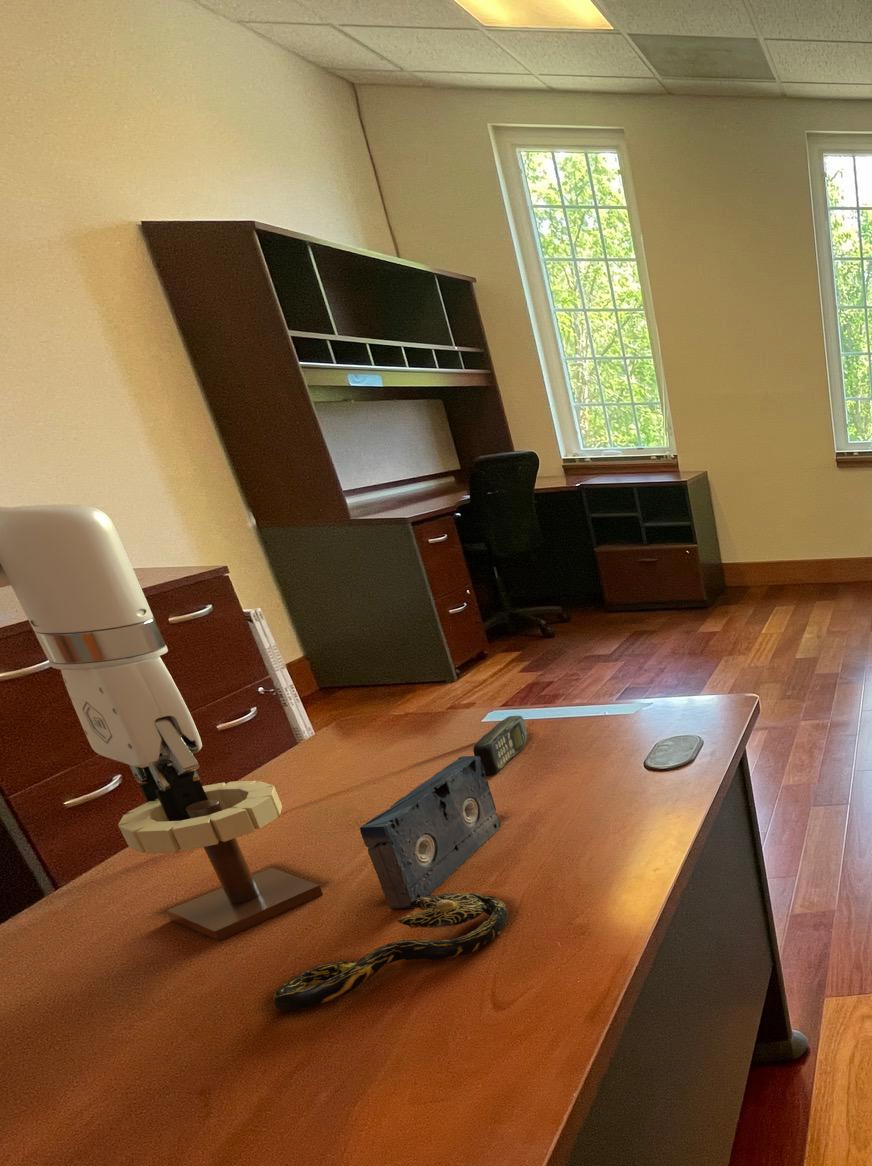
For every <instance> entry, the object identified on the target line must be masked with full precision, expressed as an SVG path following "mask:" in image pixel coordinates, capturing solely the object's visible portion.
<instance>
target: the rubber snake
mask: <svg viewBox="0 0 872 1166" xmlns="http://www.w3.org/2000/svg"><path fill="white" fill-rule="evenodd" d="M410 905H411V907H415V908H414V909H417V910H421V911H418V912H413V913H411V914H408V915H404V916H402V917H399V918H397V923H399V924H402V925H404V926H408V927H409V928H411V929H417V928H428V929H435V928H436V929H437V928H447V927H455V926H458V925H461V924H465V923H467V922H470V921H472V920H474V919H476V918H478V917H480V916H481V915H482V914H483V913H484V914H487V915H488V916H489V917H488V919H486V920H484V921H483V922H482V923H481V924H480V925H478V926H477V927H476V928H475V929H473V930H472V931H470V932H469V933H467V934H465V935H462V936H459V937H455V938H452V939H442V940H425V939H422V940H421V939H408V940H407V939H401V940H397V941H393V942H389V943H386V944H384V945H382V946H379V947H377V948H375V949H374V950H372V951H370V952H368V953H366V955H364V956H363V957H361V958H359V959H358V960H357V961H356V962H354V961H347V960H345V961H336V962H329V963H326V964H321V965H318V966H316V967H313V968H311V969H307V970H305V971H303V972H301V973H299V974H298V975H296V976H294V977H293V978H292V979H290V980H288V981H287V982H286V983H284V984H282V985H281V986H280V987H279V988H278V989H277V990H276V991H275V993H274V994H273V1004H274V1007H275V1008H276V1009H278V1010H283V1011H289V1012H290V1011H298V1010H305V1009H307V1008H310V1007H314V1006H318V1005H321V1004H323V1003H326V1002H329V1001H332V1000H334V999H337V998H339V997H342V996H344V995H348V994H349V993H350V992H352V991H354V990H355V989H357V988H358V987H360V986H362V985H363V984H365V983H366V982H367V981H368V980H370V978H372V977H373V976H374V975H376V974H378V972H379V971H380V970H382V969H383V968H384V967H386V966H389V965H390V964H392V963H394V962H397V961H401V960H402V961H403V960H406V961H411V960H416V961H417V960H422V959H424V960H429V961H440V960H447V959H452V958H456V957H459V956H464V955H467V954H470V953H474V952H476V951H477V950H479V949H481V947H482V946H484V945H486V944H488V943H490V942H493V940H494V939H496V938H497V936H499V935H500V934H501V932H502V930H503V929H504V927H505V925H506V922H507V920H508V916H509V912H508V911H509V910H508V907H507V906H506V904H505V903H504V901H502V900H500V899H497V897H494V896H491V895H486V894H482V893H477V892H473V893H472V892H471V893H470V892H461V893H453V892H452V893H442V894H435V895H428V896H426V897H421V898H417V899H414V900H412V901H411V902H410Z"/></svg>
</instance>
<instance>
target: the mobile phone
mask: <svg viewBox="0 0 872 1166" xmlns="http://www.w3.org/2000/svg"><path fill="white" fill-rule="evenodd" d="M527 741H528V730H527V726H526V722H525V719H524V718H523V716H522V715H509V716H507V717H505V718H504V719H503V720H501V721H500V722H498V723H497V724H495V725H494V727H492V728H491V729H490V730H489V731H488V732H487V733H486V734H484V735H483V736H481V737H480V739H479V740H477V741H476V743H475V744H474V745H473V750H472V751H473V756H480V758H481V760H480V761H481V762H482V764H483V766H484V770H485V774H486V776H487V775H488V776H489V775H490V776H491V775H495V774H498V773H499V771H500V770H502V769H503V767H505V766H506V765H507V763H509V761H511V760H512V759H513V758H514V757H515V756H516V755H517V754H519V753H520V752H521V751H523V749H524V748H525V746H526V744H527ZM512 757H513V758H512Z"/></svg>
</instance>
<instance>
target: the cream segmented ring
mask: <svg viewBox="0 0 872 1166" xmlns="http://www.w3.org/2000/svg"><path fill="white" fill-rule="evenodd" d="M202 787H203V789H204V791H205V794H206V796H207V798H208V800H218V801H219V802H220V805H221V807H222V809H223V810H222V811H219V812H216V813H213V814H210V815H207V816H202V817H197V818H191V819H186V820H181V821H169V820H168V817H167V815H166V813H165V811H164V809H163V807H162V805H161V803H160V801H159V799H155V801H149V802H147V801H146V802H145V803H143V804H141V805H139V806H137V807H135V808H133V809H131V810H129V811H127V812H126V813H125V814H123V816H122V817H121V819H120V820H119V822H118V824H117V826H118V828H119V830H120V832H121V834H122V836H123V838H124V840H125V843H126V844H127V846H128V848H129V849H131V850H134V851H137V852H139V853H141V854H147V855H148V854H169V853H170V854H172V853H178V852H180V851H181V852H187V851H190V850H195V849H201V848H204V847H206V846H211V845H215V844H218V842H219V840H220V841H223V842H226V841H228V840H231V839H234V838H236V839H237V838H239V837H242V836H245V835H248V834H250V833H253V832H255V831H256V830H261V829H262V828H264V827H265V826H267V825H269V824H270V823H271V822H273V821H275V820H276V819H278V818H279V816H281V813H282V809H283V804H282V802H281V799H280V797H279V794H278V793H277V790H276V787H275V786H274V785H273V784H270V783H267V782H263V781H261V780H239V781H235V780H233V781H228V782H227V783H226V782H218V783H213V784H208V785H202Z"/></svg>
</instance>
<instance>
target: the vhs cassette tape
mask: <svg viewBox="0 0 872 1166" xmlns="http://www.w3.org/2000/svg"><path fill="white" fill-rule="evenodd" d="M480 760H481V758H480V756H474V755H465V756H459V757H458V758H457V759H456V760H454V761H453V762H450V764H448V765H447V766H445V767H444V768H442V769H441V770H440V771H438V772H436V773H434V774H433V775H432V776H431V777H429V778H428V779H427V780H425V781H424V782H422V783H420V784H419V785H418V786H416V787H415V788H413V789H412V790H410V792H409V793H406V795H404V796H403V797H401V798H399V799H398V800H397V801H396V802H394V803H393V804H392V805H391V806H390V808H387V809H386V810H385V811H382V812H381V813H379V814H377V815H376V816H374V817H373V818H371V819H370V820H368V821H367V822H366V823H365V824H363V825H361V826H360V827H359V830H360V834H361V838H362V840H363V843H364V845H365V847H366V848H367V853H368V857H369V858H370V861H371V863H372V866H373V869H374V871H375V873H376V875H377V878H378V881H379V884H380V887H381V890H382V892H383V894H384V898H385V899H386V902H387V905H388V907H389V908H390V909H399V910H400V909H411V908H412V909H416V908H415V907H411V905H410V902H411V901H412V900H414V899H417V898H421V897H426V896H430V895H431V894H432V893H433V892H434V891H435V890H436V889H437V888H439V886H440V885H441V884H442V883H444V882H445V881H446V880H447V879H448V878H449V877H450V876H451V875H452V874H453V873H454V872H455V871H457V870H458V868H459V867H460V866H461V865H463V863H464V862H466V861H467V860H468V859H469V858H470V857H471V856H472V855H474V854H475V852H477V851H478V850H479V848H481V847H482V846H483V845H484V844H485V843H486V842H487V841H488V840H489V839H490V838H492V836H493V835H494V834H495V833H497V832H498V831H499V829H500V828H501V826H502V825H501V821H500V818H499V815H498V813H497V812H496V811H497V808H496V804H495V802H494V797H493V794H492V791H491V789H490V784H489V782H488V778H487V775H486V774H485V770H484V766H483V764H482V762H481V761H480Z"/></svg>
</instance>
